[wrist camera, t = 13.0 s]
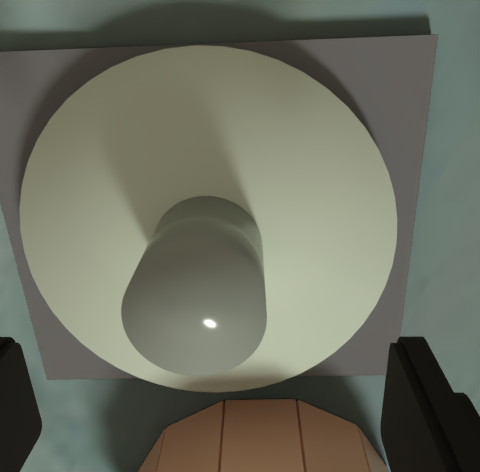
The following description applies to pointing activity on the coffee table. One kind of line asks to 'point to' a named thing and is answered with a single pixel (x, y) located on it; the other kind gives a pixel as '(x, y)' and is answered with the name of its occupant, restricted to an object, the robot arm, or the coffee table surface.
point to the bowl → (263, 441)
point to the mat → (292, 53)
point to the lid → (208, 218)
